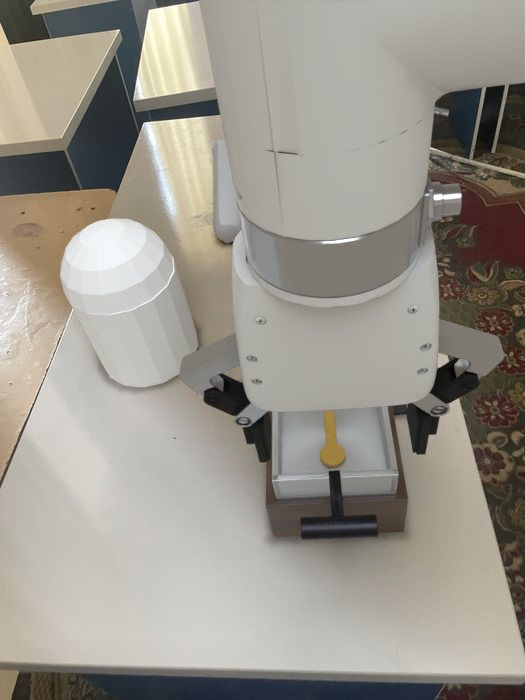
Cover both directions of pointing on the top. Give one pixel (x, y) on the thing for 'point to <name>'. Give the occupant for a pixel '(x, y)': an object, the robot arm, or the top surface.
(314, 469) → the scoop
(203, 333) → the top surface
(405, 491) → the stand
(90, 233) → the container
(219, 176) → the tube
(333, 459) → the spoon
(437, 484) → the top surface
